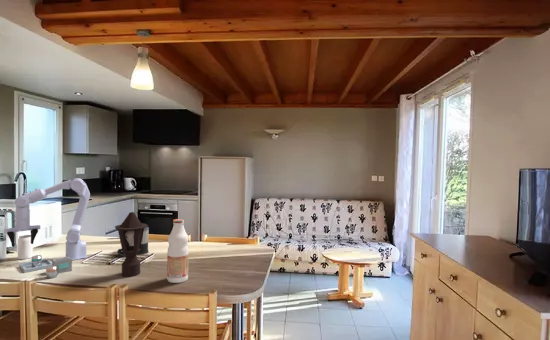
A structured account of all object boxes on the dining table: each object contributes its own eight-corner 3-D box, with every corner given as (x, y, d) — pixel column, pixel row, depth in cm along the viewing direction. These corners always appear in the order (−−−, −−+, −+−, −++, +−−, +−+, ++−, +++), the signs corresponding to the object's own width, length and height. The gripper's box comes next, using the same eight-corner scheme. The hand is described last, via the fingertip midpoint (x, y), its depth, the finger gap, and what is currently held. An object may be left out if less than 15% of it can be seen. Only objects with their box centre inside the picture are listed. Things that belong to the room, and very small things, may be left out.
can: (15, 260, 168) (15, 237, 167) (21, 256, 174) (21, 235, 174) (29, 259, 169) (29, 237, 169) (35, 255, 176) (35, 234, 175)
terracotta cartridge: (55, 274, 148) (55, 264, 148) (58, 277, 146) (58, 266, 146) (45, 277, 145) (45, 266, 145) (47, 279, 143) (47, 268, 143)
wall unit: (68, 268, 158) (68, 255, 158) (72, 270, 154) (72, 258, 154) (51, 271, 153) (52, 258, 152) (55, 274, 149) (55, 261, 149)
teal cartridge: (41, 264, 161) (40, 254, 161) (42, 266, 158) (42, 256, 158) (30, 266, 158) (30, 256, 158) (32, 268, 155) (32, 258, 155)
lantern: (147, 267, 162) (148, 209, 161) (147, 277, 148) (148, 214, 147) (115, 270, 156) (116, 210, 155) (112, 281, 143) (112, 215, 142)
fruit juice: (173, 285, 140) (174, 222, 139) (163, 279, 146) (164, 219, 145) (192, 279, 147) (193, 220, 146) (181, 274, 153) (182, 217, 152)
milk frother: (151, 251, 190) (152, 226, 190) (137, 259, 175) (137, 232, 174) (129, 249, 192) (130, 225, 192) (113, 257, 176) (113, 231, 176)
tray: (48, 261, 167) (48, 258, 167) (54, 266, 159) (54, 264, 159) (19, 266, 158) (19, 263, 158) (24, 272, 150) (24, 269, 150)
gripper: (38, 216, 169) (38, 241, 170) (2, 219, 159) (2, 246, 159) (41, 217, 165) (41, 243, 165) (5, 221, 154) (5, 248, 154)
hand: (22, 245), depth 162 cm, fingers open, 7 cm apart
